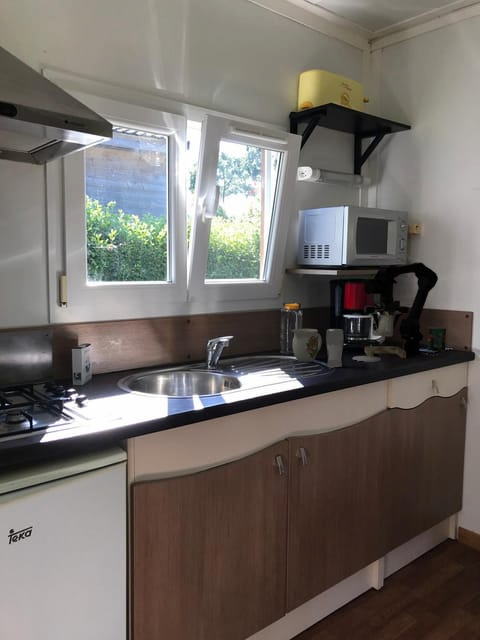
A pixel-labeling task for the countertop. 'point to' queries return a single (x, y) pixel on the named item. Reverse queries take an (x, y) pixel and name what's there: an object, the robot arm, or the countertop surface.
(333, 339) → the beer glass
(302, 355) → the pitcher
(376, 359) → the grey trivet
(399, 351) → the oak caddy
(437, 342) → the canned tomato
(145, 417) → the countertop surface
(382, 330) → the cream jug
